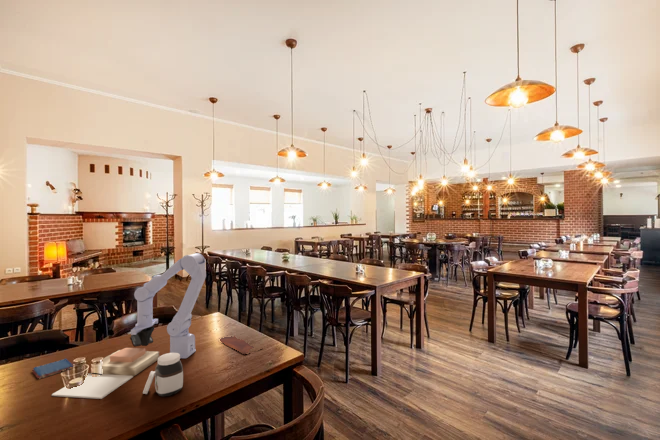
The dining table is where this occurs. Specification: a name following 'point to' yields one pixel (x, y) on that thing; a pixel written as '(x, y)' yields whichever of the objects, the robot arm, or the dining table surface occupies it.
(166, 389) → the spread jar
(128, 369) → the block
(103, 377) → the mat
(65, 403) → the dining table surface
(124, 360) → the tile
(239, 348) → the wooden tablet
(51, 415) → the dining table surface
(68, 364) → the woven mat
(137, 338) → the phone
